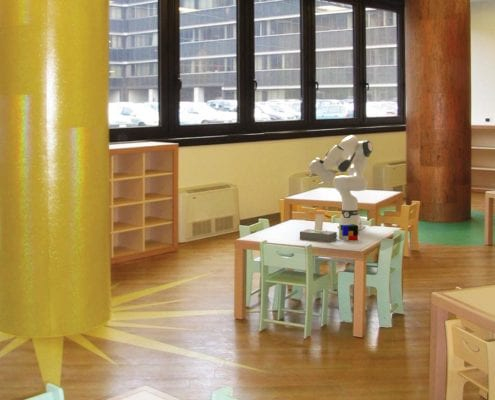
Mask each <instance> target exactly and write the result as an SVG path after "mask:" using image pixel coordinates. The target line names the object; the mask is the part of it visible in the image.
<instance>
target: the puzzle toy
mask: <svg viewBox="0 0 495 400" xmlns="http://www.w3.org/2000/svg"><path fill="white" fill-rule="evenodd" d="M338 224H339V223H338ZM338 226H339V228H338V229H339V230H338V235H339V237H338V239H340V240H341V241H343V242H350V241H351V242H352V241H353V242H355V241H359V230H358V226H357V225H355V224H339V225H338Z"/></svg>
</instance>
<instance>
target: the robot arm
mask: <svg viewBox="0 0 495 400" xmlns="http://www.w3.org/2000/svg"><path fill="white" fill-rule="evenodd" d="M373 149H374V147H373V143H372V142H371V141H370V140H367V139H366V140H361V141H360V140H359V139H358V137H357V136H356V135H354V134H349V135H348V136H345V138H342V140H341V141H340V143H339V145H338V144H335V145H334V146H333V147H332V148H331V149H329V150H328V152H326V154H325V157H323V158H320V157H315V159H313V160H312V161H311V162H310V163H309V164H308V166H307V168H308V170H310V171H309V175H308V178H309V179H310V178H312V177H313V175H312V174H313V173H314V174H316V175H317V176H318V177H320V179H322V181H321V182H320V181H319V183H318V185H319V186H322V185H323V184H325V183H327V184H332V185H333V187H334V189H335V190H336V191H337V192H338V193H339V195H340V196H341V204H342V206H341V207H342V208H341V215H340V216H339V221H338V222H339V223H338V224H355V225H357V226H358V231H359V230H360V231H362V230H364V228H366V225H363V219H362V218H361V216H360V214H359V213H360V209H358V198H357V197H356V196H355V195H353V194H352V193H351V192H362V191H365V190H367V188H368V185H369V183H368V179H367V178H366V176H364V173H365V171H366V169H367V164H368V161H367V158H368V157H370V155H371V154H372V152H373ZM334 167H335V168H336V169H337V170H338V171H339V172H340V173H346V172H347V174H348V175H343V174H342V175H337V173H336V172H335V171H334V170H333V168H334ZM337 228H338V229H339V225H337Z"/></svg>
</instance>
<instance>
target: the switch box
mask: <svg viewBox="0 0 495 400" xmlns="http://www.w3.org/2000/svg"><path fill="white" fill-rule="evenodd" d="M337 234H338V233H337V231H331V230H325V229H324V230H323V229H322V231H319V230H315V229H310V228H308V229H307V228H306V229H304V230H301V231H299V240H305V239H306V240H307V241H317V242H324V241H326V243H330V242H333V241H335V240H337V237H338V236H337Z"/></svg>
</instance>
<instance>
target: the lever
mask: <svg viewBox="0 0 495 400" xmlns="http://www.w3.org/2000/svg"><path fill="white" fill-rule="evenodd" d="M314 215H315V218H314V219H315V221H314V230H319V231H322V230H323V225H324V224H323V223H324V215H325V211H321V210H315V211H314Z"/></svg>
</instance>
